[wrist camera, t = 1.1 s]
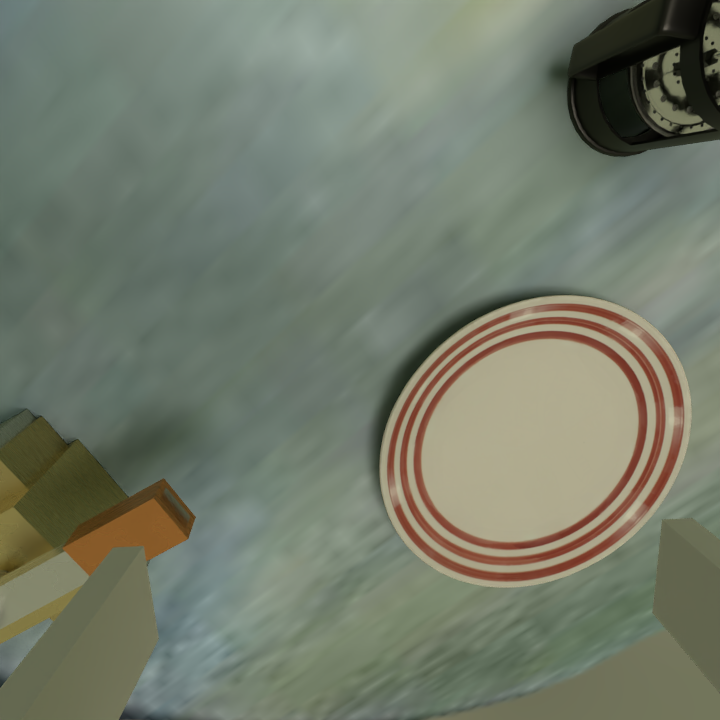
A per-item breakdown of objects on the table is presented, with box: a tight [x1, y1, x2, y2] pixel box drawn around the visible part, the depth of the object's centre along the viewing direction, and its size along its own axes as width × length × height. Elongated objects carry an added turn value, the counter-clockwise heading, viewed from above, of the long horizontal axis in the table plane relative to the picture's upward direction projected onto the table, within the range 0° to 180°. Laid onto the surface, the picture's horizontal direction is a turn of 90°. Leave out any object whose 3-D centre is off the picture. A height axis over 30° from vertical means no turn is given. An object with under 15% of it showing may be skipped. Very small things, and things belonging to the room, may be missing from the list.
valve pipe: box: [0, 409, 150, 644], centre depth 36 cm, size 16×8×9 cm, turn 28°
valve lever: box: [0, 478, 196, 629], centre depth 29 cm, size 3×16×4 cm, turn 118°
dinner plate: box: [379, 295, 692, 588], centre depth 42 cm, size 28×27×3 cm
